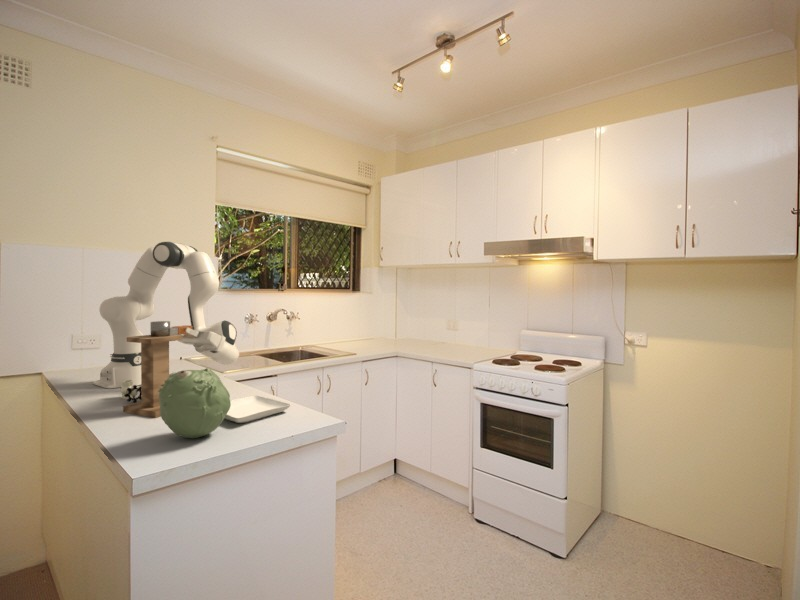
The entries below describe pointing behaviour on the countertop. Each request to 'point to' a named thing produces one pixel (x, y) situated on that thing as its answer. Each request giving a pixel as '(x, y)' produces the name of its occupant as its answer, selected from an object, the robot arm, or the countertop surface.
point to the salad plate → (254, 408)
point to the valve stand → (151, 373)
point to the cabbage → (193, 402)
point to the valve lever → (166, 329)
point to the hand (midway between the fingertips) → (180, 328)
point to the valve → (130, 391)
